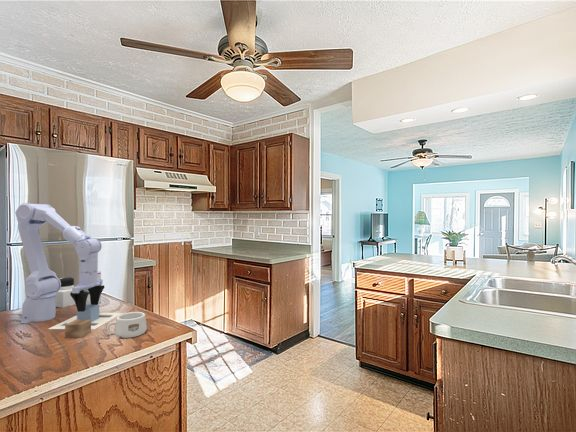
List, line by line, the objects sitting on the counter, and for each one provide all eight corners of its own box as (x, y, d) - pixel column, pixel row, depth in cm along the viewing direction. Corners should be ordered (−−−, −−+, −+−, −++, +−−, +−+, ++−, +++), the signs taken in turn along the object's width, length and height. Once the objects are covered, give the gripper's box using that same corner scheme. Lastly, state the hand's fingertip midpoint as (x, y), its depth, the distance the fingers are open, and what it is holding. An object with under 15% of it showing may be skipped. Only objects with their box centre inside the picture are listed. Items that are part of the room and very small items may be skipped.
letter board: (47, 331, 105) (47, 328, 105) (82, 314, 123) (82, 312, 123) (94, 331, 105) (94, 329, 105) (122, 314, 123) (122, 312, 123)
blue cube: (76, 322, 112) (77, 308, 112) (85, 317, 117) (86, 304, 117) (90, 322, 112) (90, 308, 112) (99, 317, 117) (99, 304, 117)
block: (65, 340, 98) (65, 324, 98) (75, 334, 103) (76, 319, 103) (80, 340, 98) (80, 324, 98) (90, 334, 103) (91, 319, 103)
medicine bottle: (79, 303, 138) (79, 277, 138) (62, 308, 132) (63, 280, 132) (67, 302, 141) (68, 276, 141) (51, 306, 134) (51, 278, 134)
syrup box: (101, 302, 141) (101, 270, 141) (92, 306, 135) (92, 272, 135) (90, 302, 141) (90, 270, 141) (80, 305, 136) (80, 272, 136)
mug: (142, 326, 111) (142, 309, 111) (149, 334, 103) (150, 316, 103) (104, 333, 104) (104, 315, 104) (108, 343, 96) (108, 323, 96)
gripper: (86, 275, 107) (86, 314, 107) (110, 268, 122) (110, 302, 122) (66, 275, 107) (65, 314, 107) (92, 268, 122) (92, 302, 122)
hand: (88, 308), depth 114 cm, fingers open, 7 cm apart
